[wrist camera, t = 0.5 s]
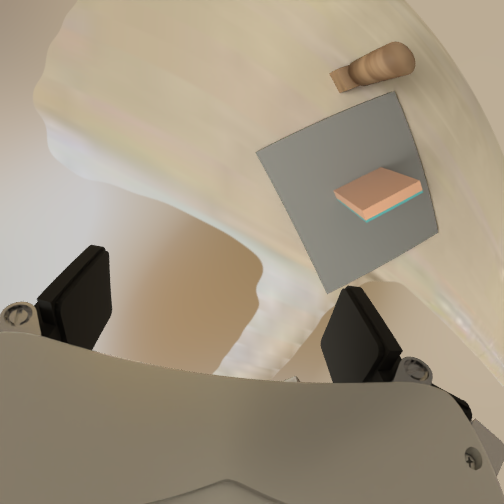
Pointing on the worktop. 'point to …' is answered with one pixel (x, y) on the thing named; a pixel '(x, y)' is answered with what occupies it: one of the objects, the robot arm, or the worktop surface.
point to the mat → (341, 173)
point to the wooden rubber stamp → (375, 67)
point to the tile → (377, 193)
